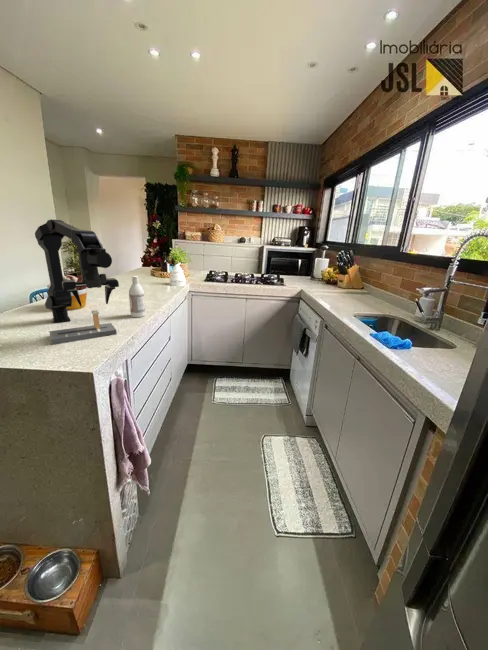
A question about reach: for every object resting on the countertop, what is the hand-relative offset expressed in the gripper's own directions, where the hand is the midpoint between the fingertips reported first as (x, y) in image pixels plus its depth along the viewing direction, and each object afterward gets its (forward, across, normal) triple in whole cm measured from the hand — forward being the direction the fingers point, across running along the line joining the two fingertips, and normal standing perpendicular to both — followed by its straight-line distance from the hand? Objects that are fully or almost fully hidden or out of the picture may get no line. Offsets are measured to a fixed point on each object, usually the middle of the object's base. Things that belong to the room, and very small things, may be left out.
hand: (94, 305), depth 105 cm
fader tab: (+9, 0, 0) cm, 9 cm away
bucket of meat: (+12, -4, +47) cm, 48 cm away
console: (+12, -5, 0) cm, 13 cm away
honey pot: (+12, +74, +90) cm, 117 cm away
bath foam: (+12, +21, +17) cm, 30 cm away
